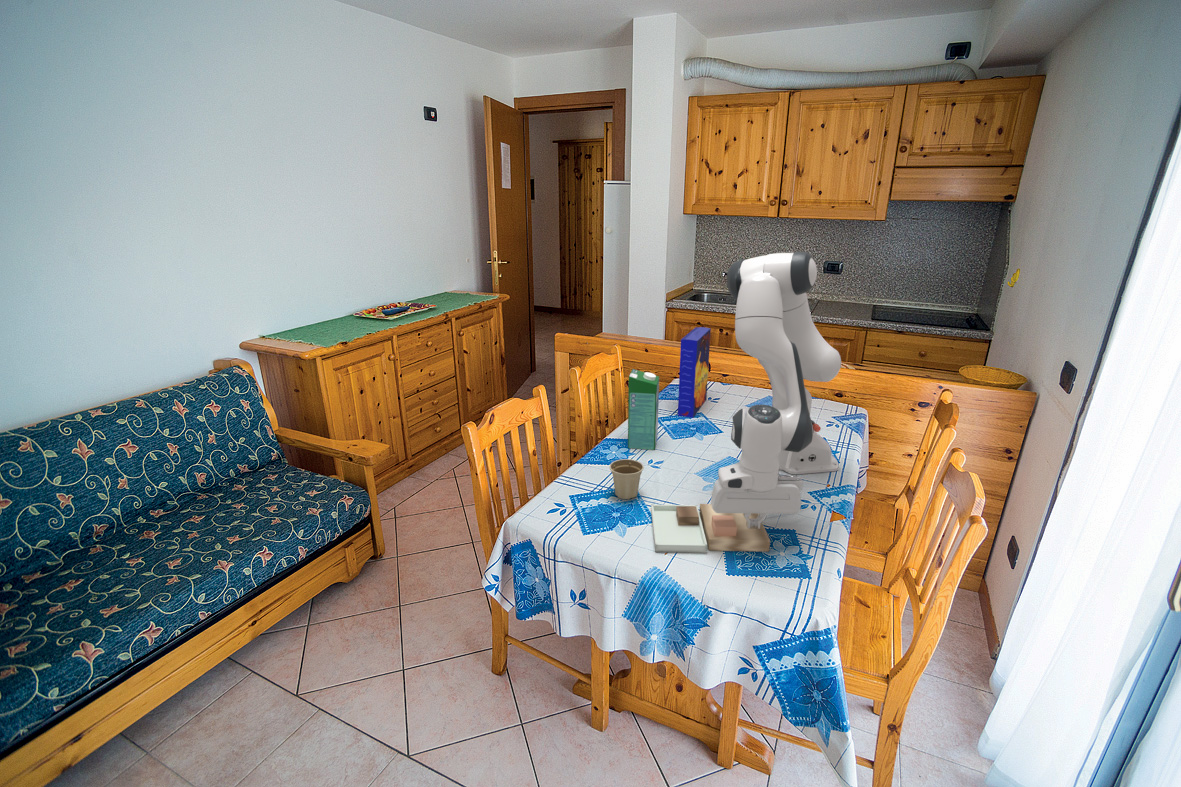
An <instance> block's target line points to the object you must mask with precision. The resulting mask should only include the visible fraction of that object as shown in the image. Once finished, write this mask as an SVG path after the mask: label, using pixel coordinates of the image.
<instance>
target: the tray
mask: <svg viewBox="0 0 1181 787" xmlns="http://www.w3.org/2000/svg"><path fill="white" fill-rule="evenodd" d="M676 506H696V508H697V512H698V515H699V525H698V526H693V525H678V521H677V517H676ZM650 509H651V510H650V511H651V524H652V532H653V533H652V534H653V544H654V551H655V553H683V554H684V553H690V554H692V553H694V554H695V553H696V554H707V553H708V546H707V542H706V538H705V534H704V530H703V526H702V522H701V518H700V514H699V511H700V509H699V507H698V505H697V504H696V505H695V504H694V505H693V504H651V505H650Z"/></svg>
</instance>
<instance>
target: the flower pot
mask: <svg viewBox="0 0 1181 787" xmlns="http://www.w3.org/2000/svg"><path fill="white" fill-rule="evenodd" d="M644 467H645V466H644V464H643V463H642V462H641V461H638V460H635V459H630V458H622V459H616V460H614V461H611V463H610V464H609V469H610V471H611V474H612V479H613V480H612V481H613V486H614V494H615V496H616V497H618V498H619V499H623V500H630V499H632V498H636V497H637V496H638V491H639V486H640V481H641V475H642V473H643V470H644V469H645V468H644Z"/></svg>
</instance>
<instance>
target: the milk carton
mask: <svg viewBox="0 0 1181 787" xmlns="http://www.w3.org/2000/svg"><path fill="white" fill-rule="evenodd" d="M659 390H660V376H658V375H656V374H655V373H653V372H646V371H642V370H638V369H636V368H635V369H634V368H632V369H631V371H630V374H629V376H628V397H627V398H628V400H627V401H628V402H627V403H628V404H627V406H628V408H627V409H628V410H627V411H628V412H627V448H628V449H635V450H649V451H650V450H651V451H656V448H657V443H658V433H659V432H658V431H659V430H658V429H659V428H658V427H659V400H660V399H659V396H660V395H659V394H660V393H659V392H660V391H659Z"/></svg>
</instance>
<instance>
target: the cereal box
mask: <svg viewBox="0 0 1181 787" xmlns="http://www.w3.org/2000/svg"><path fill="white" fill-rule="evenodd" d="M711 332H712V328H711V327H710V328H709V327H704V326H702V327H701V326H700V327H697V326H696V327H694V328H693V329H691V330H690V332H689V333H687V334H686V335H685V336H683V337H682V338H681V339H680V352H679V377H678V378H679V380H678V401H677V403H678V404H677V416H678V417H683V418H684V417H685V418H691V419H693V418H694V417H695V416H696V415H697V413H698V412H699V411H700V409H701V408H702V406H703V405H704V404H705V402H706V401H707V397H708V396H707V394H708V380H709V379H708V378H709V362H710V361H709V360H710V350H711V349H710V348H711V347H710V346H711V345H710V344H711Z"/></svg>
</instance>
